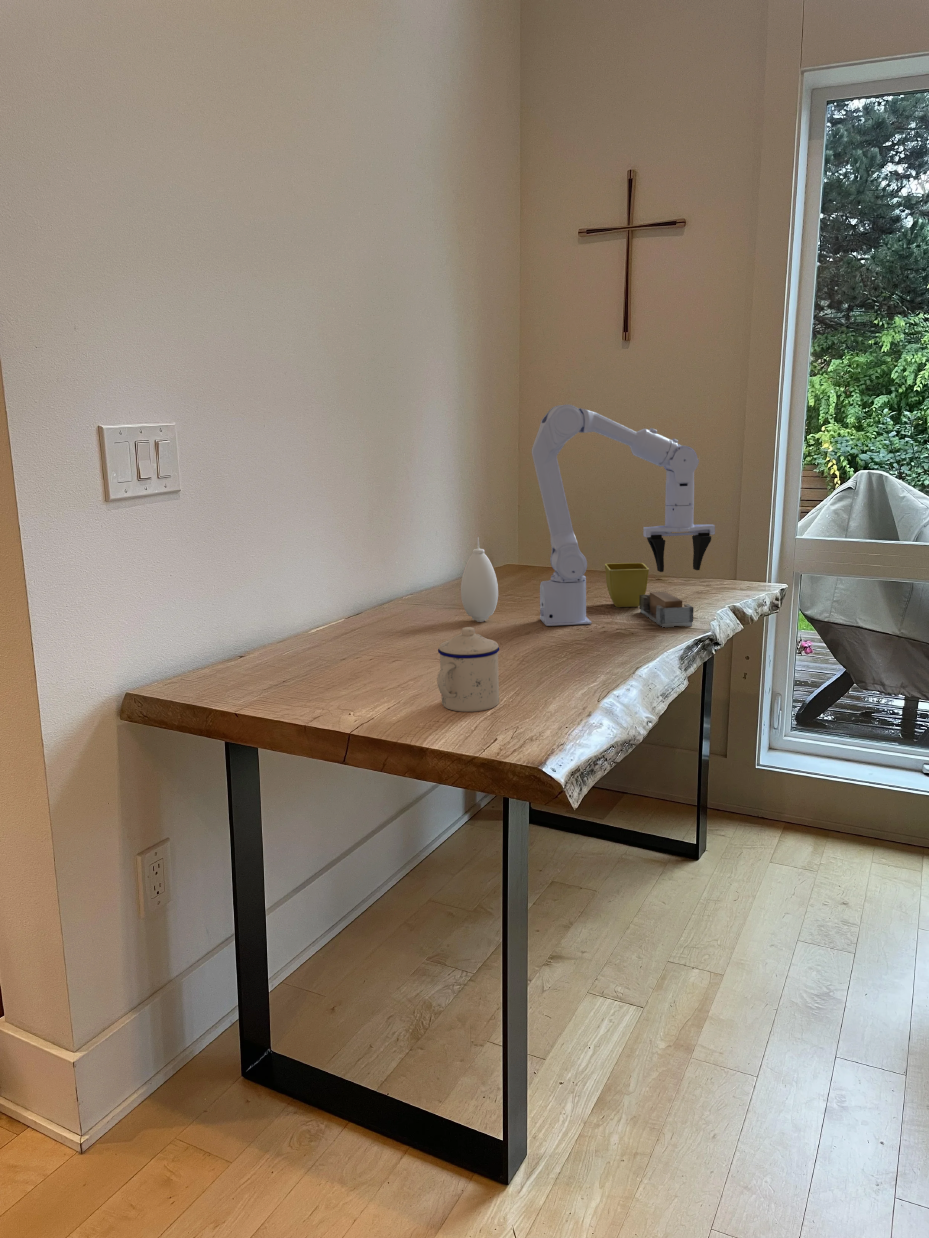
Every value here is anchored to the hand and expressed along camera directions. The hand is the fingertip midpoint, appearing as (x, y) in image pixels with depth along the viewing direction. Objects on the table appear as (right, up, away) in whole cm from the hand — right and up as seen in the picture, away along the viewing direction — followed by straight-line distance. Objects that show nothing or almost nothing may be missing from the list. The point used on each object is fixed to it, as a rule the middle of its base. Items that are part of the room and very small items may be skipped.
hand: (678, 570), depth 194 cm
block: (-3, -9, +1) cm, 10 cm away
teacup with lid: (-44, -23, -55) cm, 74 cm away
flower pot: (-8, -7, +16) cm, 19 cm away
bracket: (-3, -10, +1) cm, 10 cm away
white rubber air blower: (-41, -11, +4) cm, 43 cm away
